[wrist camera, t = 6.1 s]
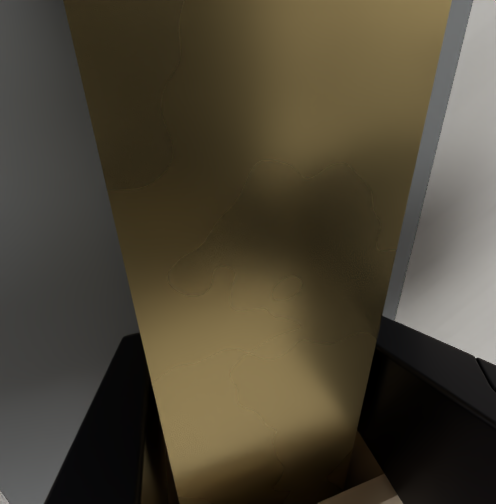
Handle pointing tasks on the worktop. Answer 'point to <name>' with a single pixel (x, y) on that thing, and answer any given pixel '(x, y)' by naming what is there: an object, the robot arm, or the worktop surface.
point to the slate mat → (89, 241)
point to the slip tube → (258, 216)
